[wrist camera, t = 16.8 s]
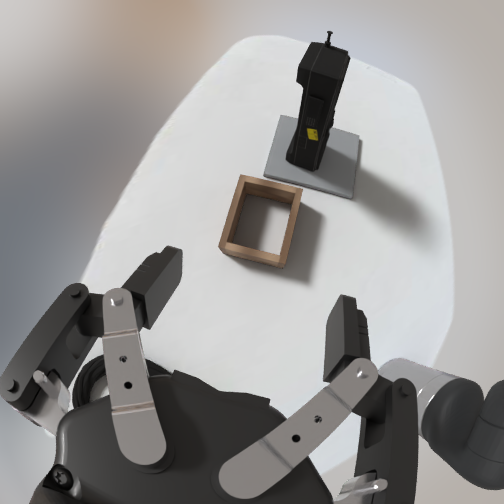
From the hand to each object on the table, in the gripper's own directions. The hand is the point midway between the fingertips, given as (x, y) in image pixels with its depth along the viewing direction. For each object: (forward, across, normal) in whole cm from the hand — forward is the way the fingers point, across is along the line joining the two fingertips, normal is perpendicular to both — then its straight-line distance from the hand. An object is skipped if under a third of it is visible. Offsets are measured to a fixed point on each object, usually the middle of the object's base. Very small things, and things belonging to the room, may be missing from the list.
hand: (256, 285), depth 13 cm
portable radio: (+39, -1, +2) cm, 39 cm away
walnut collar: (+30, +3, +13) cm, 32 cm away
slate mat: (+41, -3, +2) cm, 41 cm away
